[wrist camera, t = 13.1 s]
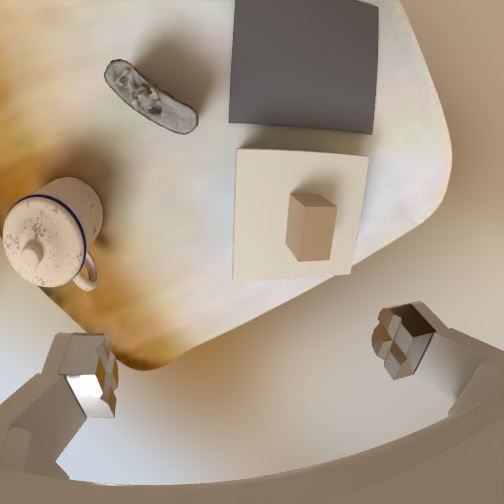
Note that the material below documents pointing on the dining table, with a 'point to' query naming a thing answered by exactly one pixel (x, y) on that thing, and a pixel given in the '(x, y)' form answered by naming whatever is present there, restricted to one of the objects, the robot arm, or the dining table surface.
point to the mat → (305, 64)
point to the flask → (149, 98)
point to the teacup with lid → (55, 234)
